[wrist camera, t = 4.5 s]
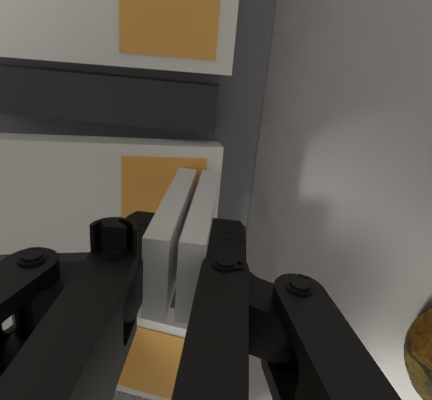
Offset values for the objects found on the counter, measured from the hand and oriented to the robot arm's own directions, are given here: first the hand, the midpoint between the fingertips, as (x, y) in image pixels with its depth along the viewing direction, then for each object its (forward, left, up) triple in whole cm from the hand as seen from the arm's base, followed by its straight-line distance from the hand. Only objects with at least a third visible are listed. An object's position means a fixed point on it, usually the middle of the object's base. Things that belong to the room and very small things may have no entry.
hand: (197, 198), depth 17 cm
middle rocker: (0, +4, 0) cm, 5 cm away
